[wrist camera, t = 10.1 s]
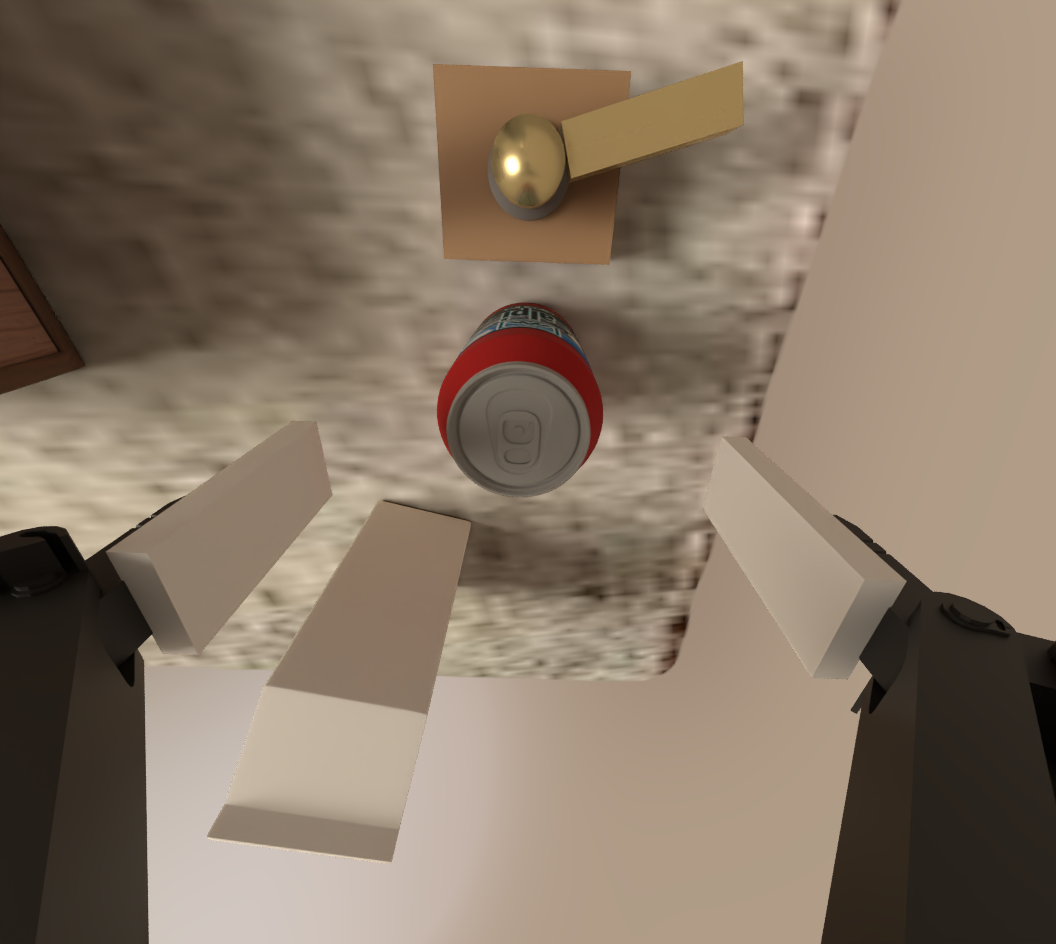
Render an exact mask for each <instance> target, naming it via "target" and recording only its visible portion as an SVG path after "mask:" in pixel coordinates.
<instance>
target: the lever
mask: <svg viewBox="0 0 1056 944" xmlns="http://www.w3.org/2000/svg"><path fill="white" fill-rule="evenodd" d="M742 125H743V61H742V62H739V63H736V64H733V65H730V66H727V67H724V68H721V69H718V70H715V71H712V72H709V73H705V74H702V75H699V76H696V77H693V78H690V79H687V80H684V81H681V82H678V83H675V84H672V85H669V86H666V87H663V88H660V89H657V90H654V91H651V92H648V93H645V94H642V95H639V96H636V97H633V98H630V99H627V100H624V101H621V102H618V103H615V104H612V105H609V106H606V107H603V108H600V109H597V110H594V111H591V112H588V113H585V114H582V115H579V116H576V117H573V118H570V119H567V120H564V121H561V125H560V130H559V132H560V135H559V133H558V131H557V130H556V128H555V127H554V126H553V125H552V124H551V123H550V122H549V121H548V120H546V119H545V118H543V117H541V116H539V115H535V114H522V115H518V116H516V117H514V118H512V119H510V120H509V121H508V122H507V123H505V124H504V126H503V127H502V128H501V129H500V131H499V132H498V134H497V136H496V138H495V141H494V144H493V148H492V155H491V164H492V171H493V175H494V178H495V180H496V183H497V185H498V186H499V188H500V190H501V191H502V193H503V194H504V196H505V197H506V198H507V199H508V200H509V201H510V202H511V203H512V204H514V205H515V206H517V207H520V208H523V209H534V208H538V207H541V206H542V205H544V204H546V203H547V202H548V201H549V200H550V199H551V198H552V197H553V196H554V194H555V193H556V191H557V189H558V187H559V184H560V182H561V179H562V176H563V173H564V168H565V166H566V172H567V177H568V183H571V182H574V181H577V180H581V179H584V178H587V177H590V176H593V175H597V174H600V173H603V172H606V171H610V170H613V169H616V168H619V167H622V166H626V165H629V164H632V163H635V162H638V161H642V160H645V159H648V158H651V157H654V156H658V155H661V154H664V153H667V152H671V151H674V150H677V149H680V148H683V147H687V146H690V145H693V144H696V143H699V142H703V141H706V140H709V139H712V138H716V137H719V136H722V135H725V134H728V133H730V132H731V131H733V130H735V129H737V128H738V127H740V126H742Z"/></svg>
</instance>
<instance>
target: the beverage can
mask: <svg viewBox="0 0 1056 944" xmlns="http://www.w3.org/2000/svg"><path fill="white" fill-rule="evenodd" d="M437 419H438V426H439V430H440V433H441V437H442V439H443V442H444V444H445V446H446V448H447V450H448V451H449V453H450V455H451V456H452V457H453V459H454V460H455V462H456V464H457V465H458V467H459V468H460V469H461V470H462V472H463V473H464V474H465V475H466V476H467V477H468V478H469V479H470V480H472V481H473V482H474V483H475V484H477V485H478V486H480V487H482V488H484V489H486V490H488V491H490V492H493V493H495V494H499V495H503V496H508V497H531V496H537V495H541V494H544V493H547V492H549V491H552V490H554V489H556V488H557V487H559V486H561V485H562V484H564V483H565V482H566V481H567V480H569V479H570V478H571V477H572V476H573V475H574V474H575V472H576V471H577V470H578V469H579V468H580V467H581V466H582V465H583V464H584V463H585V462H586V460H587V459H588V458H589V456H590V455H591V453H592V451H593V450H594V448H595V446H596V444H597V442H598V439H599V436H600V433H601V429H602V423H603V405H602V399H601V394H600V391H599V388H598V385H597V383H596V380H595V378H594V375H593V373H592V370H591V368H590V365H589V363H588V361H587V359H586V356H585V354H584V352H583V350H582V348H581V346H580V343H579V341H578V339H577V338H576V336H575V334H574V332H573V330H572V328H571V327H570V326H569V324H568V323H567V322H566V321H565V320H564V319H563V318H562V317H561V316H560V315H559V314H557V313H556V312H554V311H553V310H551V309H549V308H547V307H545V306H542V305H538V304H534V303H516V304H511V305H508V306H505V307H502V308H500V309H498V310H497V311H495V312H493V313H492V314H491V315H489V316H488V317H487V318H486V319H485V320H484V321H483V323H482V324H481V325H480V326H479V328H478V329H477V330H476V331H475V333H474V334H473V336H472V337H471V338H470V340H469V341H468V343H467V344H466V345H465V347H464V348H463V350H462V351H461V353H460V354H459V356H458V357H457V359H456V361H455V362H454V364H453V365H452V367H451V368H450V370H449V372H448V373H447V375H446V377H445V379H444V381H443V383H442V386H441V389H440V392H439V396H438V402H437Z"/></svg>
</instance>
